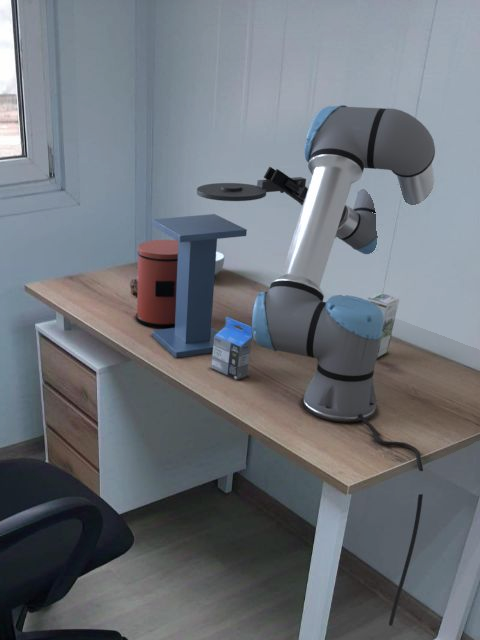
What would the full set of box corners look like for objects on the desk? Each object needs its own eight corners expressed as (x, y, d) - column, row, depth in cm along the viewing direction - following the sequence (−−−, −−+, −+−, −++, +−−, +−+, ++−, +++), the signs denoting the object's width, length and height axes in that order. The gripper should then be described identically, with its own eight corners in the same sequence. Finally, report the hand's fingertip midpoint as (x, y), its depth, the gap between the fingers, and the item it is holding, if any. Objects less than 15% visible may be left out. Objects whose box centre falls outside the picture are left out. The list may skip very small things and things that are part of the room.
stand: (207, 327, 202) (214, 213, 186) (236, 350, 188) (246, 229, 172) (149, 335, 197) (152, 219, 181) (175, 359, 184) (180, 235, 168)
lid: (215, 203, 167) (216, 192, 165) (185, 189, 180) (185, 179, 179) (320, 194, 175) (322, 183, 174) (284, 182, 188) (285, 172, 187)
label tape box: (210, 368, 179) (213, 319, 172) (222, 364, 181) (226, 316, 174) (236, 380, 173) (240, 330, 166) (248, 376, 175) (253, 326, 168)
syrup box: (367, 347, 190) (377, 291, 182) (388, 353, 186) (400, 297, 179) (355, 353, 187) (365, 297, 179) (376, 359, 183) (388, 302, 175)
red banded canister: (192, 329, 201) (196, 255, 190) (135, 328, 201) (135, 254, 191) (190, 309, 214) (194, 239, 203) (137, 308, 215) (138, 238, 204)
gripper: (345, 238, 184) (279, 194, 171) (310, 224, 196) (246, 182, 184) (362, 210, 181) (296, 163, 169) (326, 197, 194) (262, 153, 182)
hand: (270, 173), depth 177 cm, fingers closed on lid, 3 cm apart
